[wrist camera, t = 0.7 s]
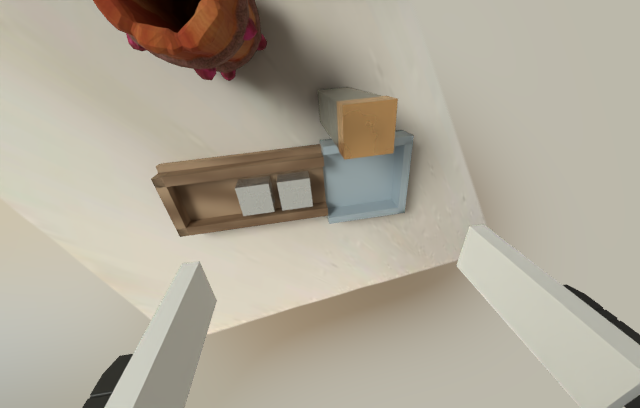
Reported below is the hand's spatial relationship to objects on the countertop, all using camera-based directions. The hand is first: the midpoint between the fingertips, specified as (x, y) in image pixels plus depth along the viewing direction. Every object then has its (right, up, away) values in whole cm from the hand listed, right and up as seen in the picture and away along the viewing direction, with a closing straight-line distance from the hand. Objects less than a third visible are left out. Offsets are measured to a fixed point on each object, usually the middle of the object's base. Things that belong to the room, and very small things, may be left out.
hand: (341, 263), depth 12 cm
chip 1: (-9, +5, +19) cm, 22 cm away
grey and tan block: (+1, +15, +16) cm, 22 cm away
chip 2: (-4, +5, +20) cm, 21 cm away
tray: (+5, +7, +21) cm, 23 cm away
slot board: (-10, +5, +20) cm, 23 cm away
